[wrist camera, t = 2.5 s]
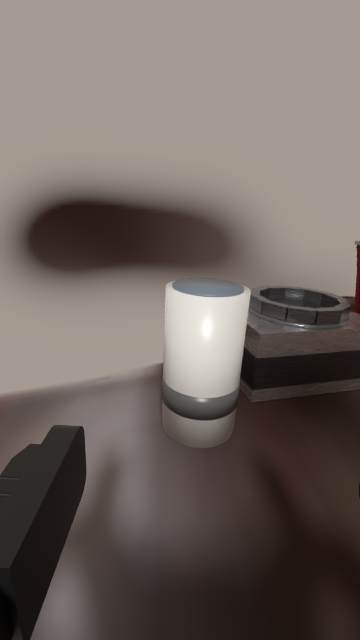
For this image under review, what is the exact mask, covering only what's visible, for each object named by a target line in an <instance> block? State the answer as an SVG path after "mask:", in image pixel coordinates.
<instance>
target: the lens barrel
mask: <svg viewBox="0 0 360 640" xmlns="http://www.w3.org/2000/svg"><path fill="white" fill-rule="evenodd" d="M250 294H251V291H250V289H248V288H247V287H245V286H242V285H240V284H237V283H234V282H231V281H226V280H220V279H210V278H187V279H181V280H177V281H173V282H170V283H168V284H167V285H166V296H165V298H166V299H165V329H164V331H165V332H164V362H163V374H162V427H163V430H164V431H165V433H166V434H167V435H168V436H169V437H170V438H171V439H172V440H174V441H175V442H177V443H179V444H181V445H184V446H187V447H192V448H211V447H215V446H218V445H221V444H223V443H224V442H226V441H227V440H228V439H229V438H230V437H231V435H232V433H233V430H234V422H235V414H236V407H237V404H238V396H239V388H240V374H241V366H242V358H243V350H244V342H245V334H246V326H247V318H248V310H249V302H250Z"/></svg>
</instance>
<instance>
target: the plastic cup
mask: <svg viewBox="0 0 360 640" xmlns="http://www.w3.org/2000/svg"><path fill="white" fill-rule="evenodd" d="M355 244H356V245H357V247H356V248H357V279H356V295H355V313H357V314H360V241H355Z"/></svg>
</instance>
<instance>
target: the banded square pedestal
mask: <svg viewBox="0 0 360 640" xmlns="http://www.w3.org/2000/svg"><path fill="white" fill-rule="evenodd" d="M350 309H351V304H350V303H349V302H348V301H347V300H346V299H345V298H342V297H339V296H337V295H334V294H331V293H328V292H323V291H318V290H313V289H308V288H307V289H306V288H300V287H289V286H263V287H258V288H255V289H252V291H251V295H250V302H249V310H248V318H247V326H246V334H245V342H244V350H243V358H242V366H241V374H240V390H241V391H242V392H243V393H244V395H245V396H246V397H247V398H248V400H249V401H250V402H259V401H268V400H276V399H285V398H293V397H301V396H310V395H318V394H326V393H335V392H343V391H351V390H360V314H357V313H355V312H353V311H350Z"/></svg>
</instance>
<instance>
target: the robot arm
mask: <svg viewBox="0 0 360 640" xmlns="http://www.w3.org/2000/svg"><path fill="white" fill-rule="evenodd" d="M85 481H86V455H85V437H84V429H83V427H82V426H67V425H54V426H53V427H52V428H51V429H50V431H49V432H48V434H47V436H46V437H45V439H44V440H43V442H42V444H30V445H28V446H27V447H26V448H25V449H23V450H22V451H21V452H19V453H18V454H17V455H16V456H14V457H13V458H12V459H11V460H10V462H9V463H8V465H7V466H6V468H5V469H4V470H3V472H2V473H1V475H0V640H30V638H31V635H32V632H33V630H34V627H35V624H36V621H37V619H38V616H39V613H40V610H41V608H42V605H43V602H44V599H45V597H46V594H47V591H48V588H49V586H50V583H51V580H52V577H53V574H54V572H55V569H56V566H57V563H58V561H59V558H60V555H61V552H62V550H63V547H64V544H65V541H66V539H67V536H68V533H69V530H70V528H71V525H72V522H73V519H74V516H75V514H76V511H77V508H78V505H79V503H80V500H81V497H82V494H83V491H84V486H85ZM359 497H360V484H359Z"/></svg>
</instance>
